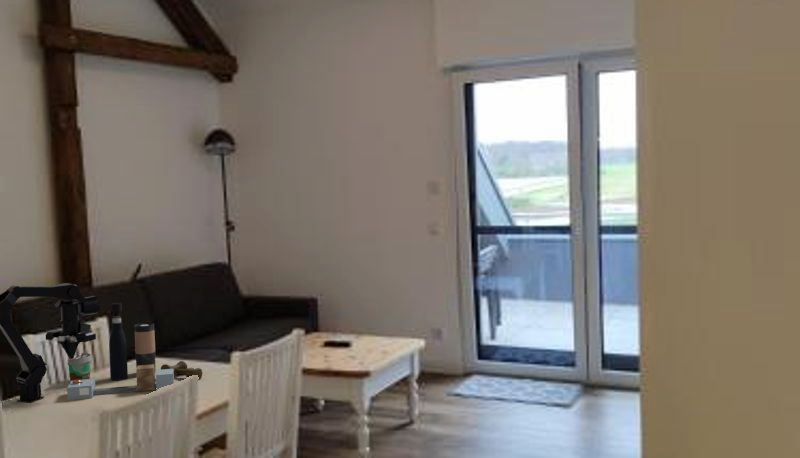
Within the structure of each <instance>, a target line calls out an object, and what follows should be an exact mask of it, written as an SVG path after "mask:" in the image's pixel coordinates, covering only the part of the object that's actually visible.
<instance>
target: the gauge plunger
mask: <svg viewBox="0 0 800 458" xmlns="http://www.w3.org/2000/svg"><path fill="white" fill-rule="evenodd" d="M78 384H81V380H73V385H78Z"/></svg>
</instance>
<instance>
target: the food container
mask: <svg viewBox="0 0 800 458" xmlns="http://www.w3.org/2000/svg"><path fill="white" fill-rule="evenodd" d="M92 361H93V357H92V355H91V354H90V353H88V352H81V355H80V356H74V358H73V359H70V358H69V359H67V366H68V372H69V375H68V376H69V382H71V381H73V380H85V379H91V362H92Z"/></svg>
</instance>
